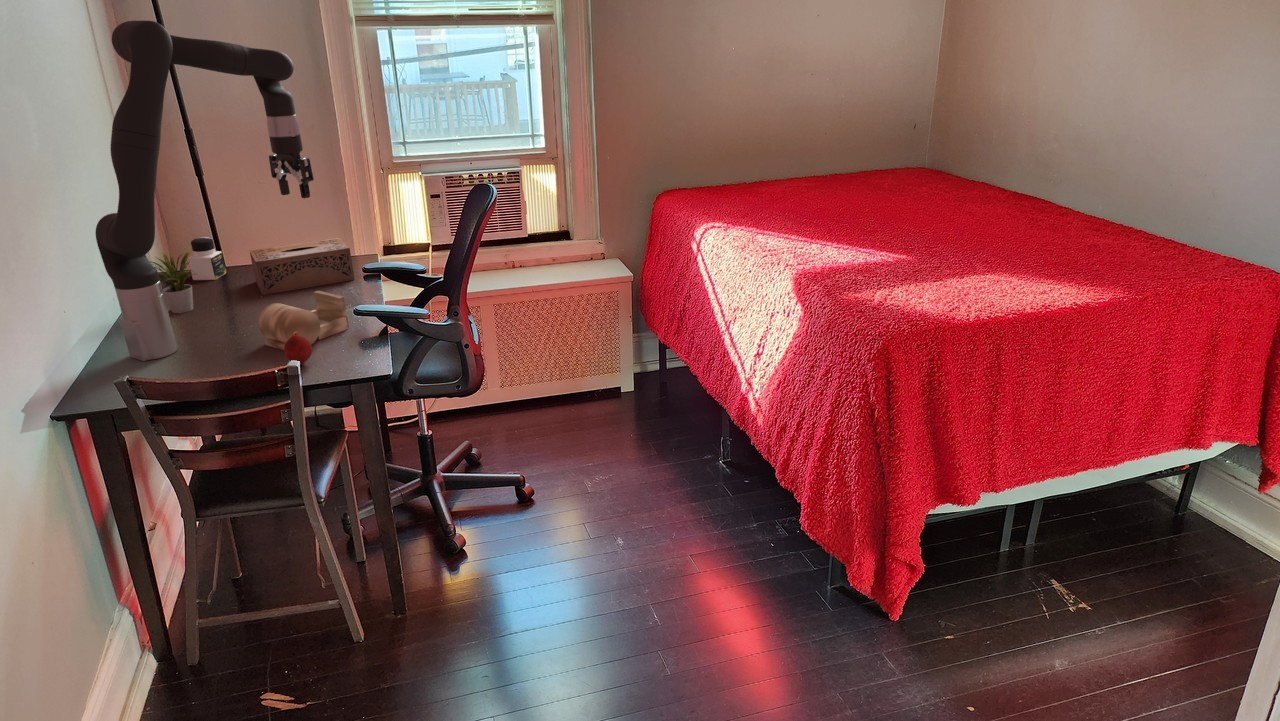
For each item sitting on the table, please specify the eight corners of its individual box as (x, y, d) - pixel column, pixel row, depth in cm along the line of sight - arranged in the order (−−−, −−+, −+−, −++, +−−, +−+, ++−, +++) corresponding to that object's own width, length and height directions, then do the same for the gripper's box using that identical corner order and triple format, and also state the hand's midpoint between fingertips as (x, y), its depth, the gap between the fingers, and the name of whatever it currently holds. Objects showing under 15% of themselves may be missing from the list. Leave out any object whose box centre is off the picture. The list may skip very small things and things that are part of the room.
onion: (305, 371, 187) (298, 337, 184) (282, 369, 188) (275, 336, 185) (319, 360, 192) (313, 328, 189) (296, 359, 193) (290, 327, 190)
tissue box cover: (262, 295, 239) (255, 261, 235) (256, 283, 250) (249, 250, 246) (354, 280, 250) (349, 247, 246) (344, 268, 262) (339, 237, 258)
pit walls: (319, 339, 204) (313, 308, 201) (288, 330, 211) (282, 300, 208) (352, 327, 212) (346, 297, 209) (320, 319, 218) (315, 289, 215)
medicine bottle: (216, 280, 253) (207, 241, 248) (192, 280, 253) (183, 241, 248) (227, 273, 259) (218, 235, 255) (204, 273, 260) (195, 235, 255)
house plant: (180, 298, 237) (166, 242, 230) (223, 301, 234) (210, 244, 228) (143, 316, 224) (127, 256, 217) (188, 318, 221) (173, 258, 215)
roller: (323, 340, 204) (316, 305, 200) (291, 352, 197) (283, 316, 193) (294, 332, 209) (288, 298, 206) (262, 344, 203) (255, 309, 199)
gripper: (254, 133, 216) (266, 196, 222) (289, 137, 209) (300, 201, 215) (280, 130, 222) (291, 191, 228) (314, 133, 215) (324, 196, 221)
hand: (295, 196), depth 222 cm, fingers open, 8 cm apart
